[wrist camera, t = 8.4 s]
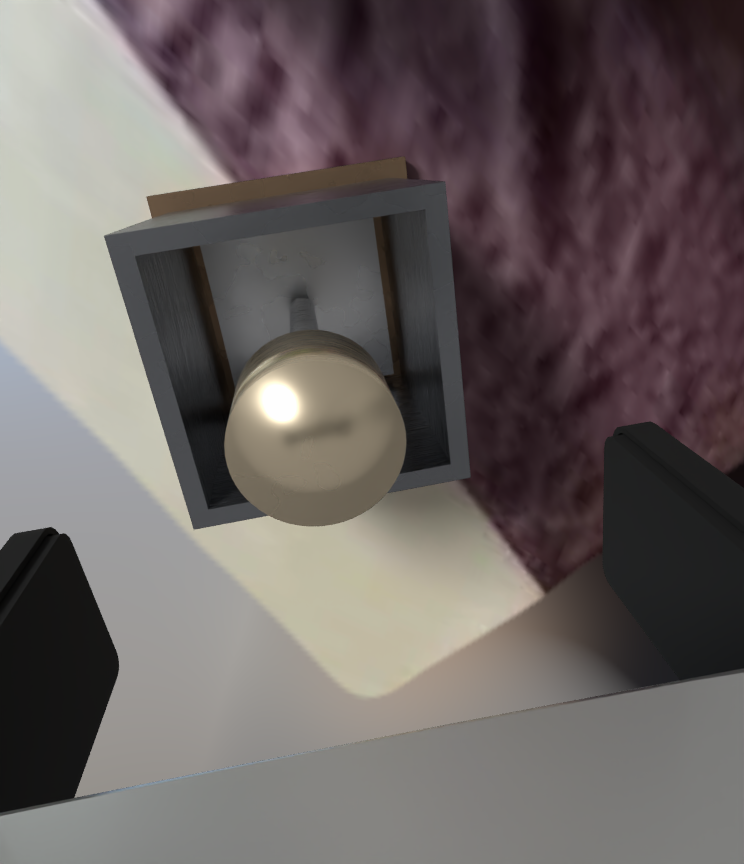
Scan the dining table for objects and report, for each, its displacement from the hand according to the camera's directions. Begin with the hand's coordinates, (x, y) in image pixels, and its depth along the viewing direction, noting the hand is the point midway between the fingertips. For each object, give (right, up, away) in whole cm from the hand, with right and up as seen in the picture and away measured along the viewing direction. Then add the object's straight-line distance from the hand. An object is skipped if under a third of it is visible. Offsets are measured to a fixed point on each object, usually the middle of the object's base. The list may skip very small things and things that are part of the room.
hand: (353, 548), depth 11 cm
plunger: (-3, +8, +20) cm, 22 cm away
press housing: (-3, +9, +21) cm, 23 cm away
